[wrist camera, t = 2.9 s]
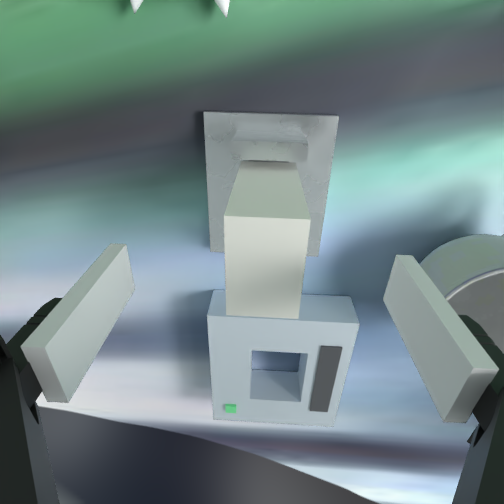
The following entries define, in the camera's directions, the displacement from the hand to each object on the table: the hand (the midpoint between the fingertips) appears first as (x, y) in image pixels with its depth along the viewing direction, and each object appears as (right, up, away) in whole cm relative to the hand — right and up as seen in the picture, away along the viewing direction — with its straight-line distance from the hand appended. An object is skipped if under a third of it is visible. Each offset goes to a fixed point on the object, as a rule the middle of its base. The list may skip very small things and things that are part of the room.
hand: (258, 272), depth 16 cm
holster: (+1, +6, +11) cm, 13 cm away
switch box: (+2, -10, +21) cm, 23 cm away
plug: (+1, +6, +11) cm, 12 cm away
